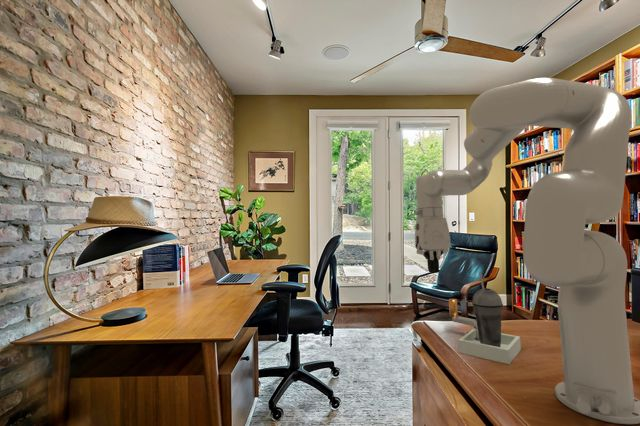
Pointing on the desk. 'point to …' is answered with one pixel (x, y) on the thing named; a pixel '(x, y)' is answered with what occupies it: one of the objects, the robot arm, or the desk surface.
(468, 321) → the crank
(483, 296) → the beverage cup
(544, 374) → the desk surface
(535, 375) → the desk surface
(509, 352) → the tray
